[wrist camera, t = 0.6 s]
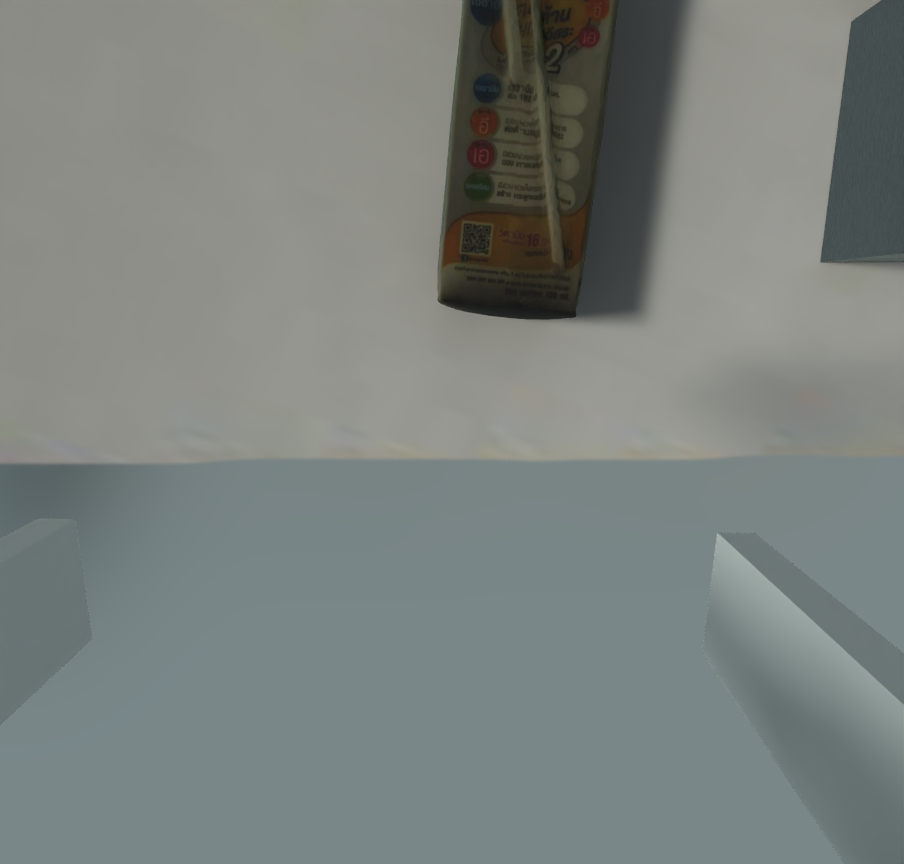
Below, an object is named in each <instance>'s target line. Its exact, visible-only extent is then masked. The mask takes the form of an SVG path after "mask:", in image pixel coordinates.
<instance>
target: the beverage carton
mask: <svg viewBox="0 0 904 864" xmlns="http://www.w3.org/2000/svg"><path fill="white" fill-rule="evenodd" d="M617 8H618V0H463V4H462V18H461V30H460V39H459V48H458V58H457V66H456V75H455V85H454V94H453V104H452V115H451V123H450V135H449V148H448V159H447V170H446V183H445V193H444V204H443V214H442V225H441V235H440V248H439V262H438V302H440V303H441V304H443V305H446V306H448V307H451V308H454V309H457V310H461V311H465V312H471V313H477V314H483V315H488V316H497V317H506V318H517V319H562V318H573V317H575V316H576V310H575V309H576V305H577V301H578V296H579V291H580V286H581V279H582V272H583V266H584V260H585V254H586V247H587V240H588V233H589V225H590V218H591V211H592V204H593V196H594V190H595V183H596V175H597V167H598V159H599V152H600V144H601V137H602V129H603V122H604V113H605V105H606V97H607V88H608V80H609V73H610V65H611V57H612V49H613V41H614V33H615V25H616V16H617Z"/></svg>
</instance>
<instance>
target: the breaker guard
mask: <svg viewBox="0 0 904 864" xmlns="http://www.w3.org/2000/svg"><path fill="white" fill-rule="evenodd" d="M821 262H904V0H881V1H880V2H878V3H877V4H876V5H874V6H873V7H871V8H870V9H869V10H867V11H866V12H864V13H863V14H862V15H860V16H859V17H857V18H856V19H855V20H853V21H852V22H851V30H850V38H849V46H848V53H847V61H846V69H845V77H844V84H843V92H842V100H841V108H840V115H839V123H838V131H837V139H836V146H835V154H834V162H833V170H832V177H831V185H830V193H829V201H828V208H827V216H826V224H825V232H824V239H823V247H822V255H821Z"/></svg>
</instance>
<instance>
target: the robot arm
mask: <svg viewBox="0 0 904 864" xmlns="http://www.w3.org/2000/svg"><path fill="white" fill-rule="evenodd" d="M91 640H92V634H91V628H90V620H89V612H88V605H87V599H86V591H85V584H84V577H83V569H82V563H81V555H80V548H79V541H78V534H77V527H76V520H75V519H37V520H35V521H33V522H31V523H29V524H27V525H26V526H24V527H22V528H20V529H18V530H16V531H14V532H12V533H11V534H9V535H7V536H5V537H3V538H1V539H0V725H1V724H2V723H3V722H4V721H5V720H6V719H7V718H8V717H9V716H10V715H11V714H12V713H14V712H15V711H16V710H17V709H18V708H19V707H20V706H21V705H22V704H23V703H24V702H25V701H26V700H28V699H29V698H30V697H31V696H32V695H33V694H34V693H35V692H36V691H37V690H38V689H39V688H40V687H42V686H43V685H44V684H45V683H46V682H47V681H48V680H49V679H50V678H51V677H52V676H53V675H54V674H55V673H56V672H58V671H59V670H60V669H61V668H62V667H63V666H64V665H65V664H66V663H67V662H68V661H69V660H70V659H71V658H73V657H74V656H75V655H76V654H77V653H78V652H79V651H80V650H81V649H82V648H83V647H84V646H86V645H87V644H88V643H89V642H90V641H91ZM702 654H703V655H704V657H705V658H706V660H707V661H708V663H709V664H710V666H711V667H712V668H713V670H714V671H715V673H716V675H717V676H718V678H719V679H720V680H721V682H722V683H723V685H724V686H725V688H726V689H727V691H728V692H729V694H730V695H731V697H732V698H733V700H734V701H735V703H736V704H737V706H738V707H739V709H740V710H741V711H742V713H743V715H744V716H745V717H746V719H747V720H748V722H749V723H750V725H751V726H752V728H753V729H754V731H755V732H756V734H757V735H758V737H759V738H760V740H761V741H762V743H763V744H764V746H765V747H766V748H767V750H768V752H769V753H770V754H771V756H772V758H773V759H774V761H775V762H776V764H777V765H778V767H779V768H780V769H781V771H782V772H783V774H784V775H785V777H786V778H787V780H788V781H789V783H790V784H791V786H792V787H793V789H794V790H795V792H796V793H797V795H798V796H799V798H800V799H801V800H802V802H803V804H804V805H805V806H806V808H807V809H808V811H809V812H810V814H811V815H812V817H813V818H814V820H815V821H816V823H817V824H818V826H819V827H820V829H821V830H822V831H823V833H824V835H825V836H826V838H827V839H828V841H829V842H830V844H831V845H832V847H833V848H834V850H835V851H836V852H837V854H838V855H839V857H840V858H841V860H842V861H843V863H844V864H904V653H903V652H901V651H900V650H899V649H898V648H897V647H895V646H894V645H893V644H891V643H890V642H889V641H888V640H887V639H885V638H884V637H883V636H882V635H881V634H879V633H878V632H877V631H876V630H874V629H873V628H872V627H871V626H869V625H868V624H867V623H866V622H864V621H863V620H862V619H861V618H859V617H858V616H857V615H856V614H855V613H853V612H852V611H851V610H849V609H848V608H847V607H846V606H845V605H843V604H842V603H841V602H840V601H838V600H837V599H836V598H835V597H833V596H832V595H831V594H829V592H827V591H826V590H825V589H824V588H822V587H821V586H820V585H818V584H817V583H816V582H815V581H814V580H812V579H811V578H810V577H809V576H807V575H806V574H805V573H804V572H802V571H801V570H800V569H799V568H798V567H796V566H795V565H794V564H793V563H791V562H790V561H789V560H788V559H786V558H785V557H784V556H783V555H782V554H780V553H779V552H778V551H777V550H775V549H774V548H773V547H772V546H770V545H769V544H768V543H767V542H765V541H764V540H763V539H762V538H760V537H759V536H758V535H757V534H755V533H717V541H716V548H715V556H714V564H713V571H712V580H711V587H710V595H709V603H708V611H707V619H706V626H705V634H704V642H703V650H702Z"/></svg>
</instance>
